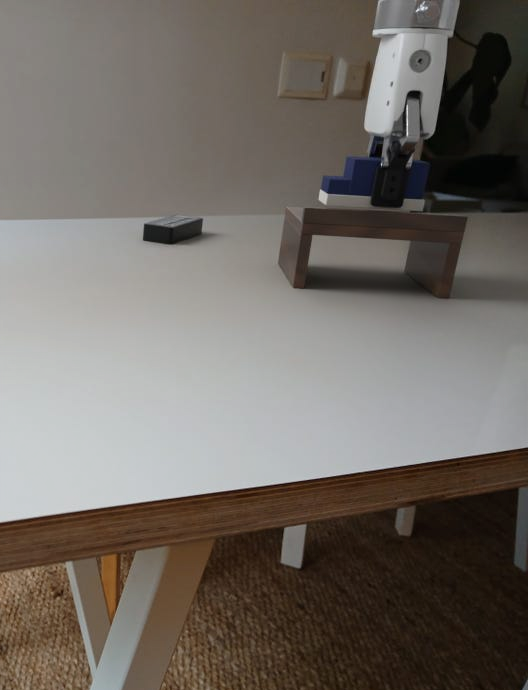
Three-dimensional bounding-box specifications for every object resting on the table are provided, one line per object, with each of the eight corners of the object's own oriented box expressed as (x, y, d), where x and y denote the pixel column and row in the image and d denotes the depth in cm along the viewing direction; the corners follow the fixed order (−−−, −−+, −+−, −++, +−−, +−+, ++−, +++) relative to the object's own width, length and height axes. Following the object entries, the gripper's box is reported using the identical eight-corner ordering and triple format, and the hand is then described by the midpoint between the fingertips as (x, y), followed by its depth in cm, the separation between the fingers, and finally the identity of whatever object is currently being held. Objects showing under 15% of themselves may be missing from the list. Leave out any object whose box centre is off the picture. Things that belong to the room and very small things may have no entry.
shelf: (414, 272, 89) (429, 200, 86) (449, 298, 78) (468, 216, 75) (277, 263, 91) (287, 192, 88) (292, 287, 80) (305, 207, 77)
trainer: (410, 205, 83) (419, 159, 81) (422, 211, 79) (433, 163, 77) (318, 199, 84) (325, 154, 83) (325, 205, 80) (333, 158, 78)
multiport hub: (141, 239, 102) (142, 223, 102) (175, 229, 111) (176, 214, 110) (170, 244, 100) (172, 227, 99) (202, 233, 109) (204, 217, 108)
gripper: (486, 14, 67) (441, 217, 73) (426, 29, 82) (393, 195, 89) (399, 12, 68) (362, 213, 74) (356, 26, 83) (328, 191, 90)
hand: (379, 201), depth 81 cm, fingers closed on trainer, 4 cm apart
